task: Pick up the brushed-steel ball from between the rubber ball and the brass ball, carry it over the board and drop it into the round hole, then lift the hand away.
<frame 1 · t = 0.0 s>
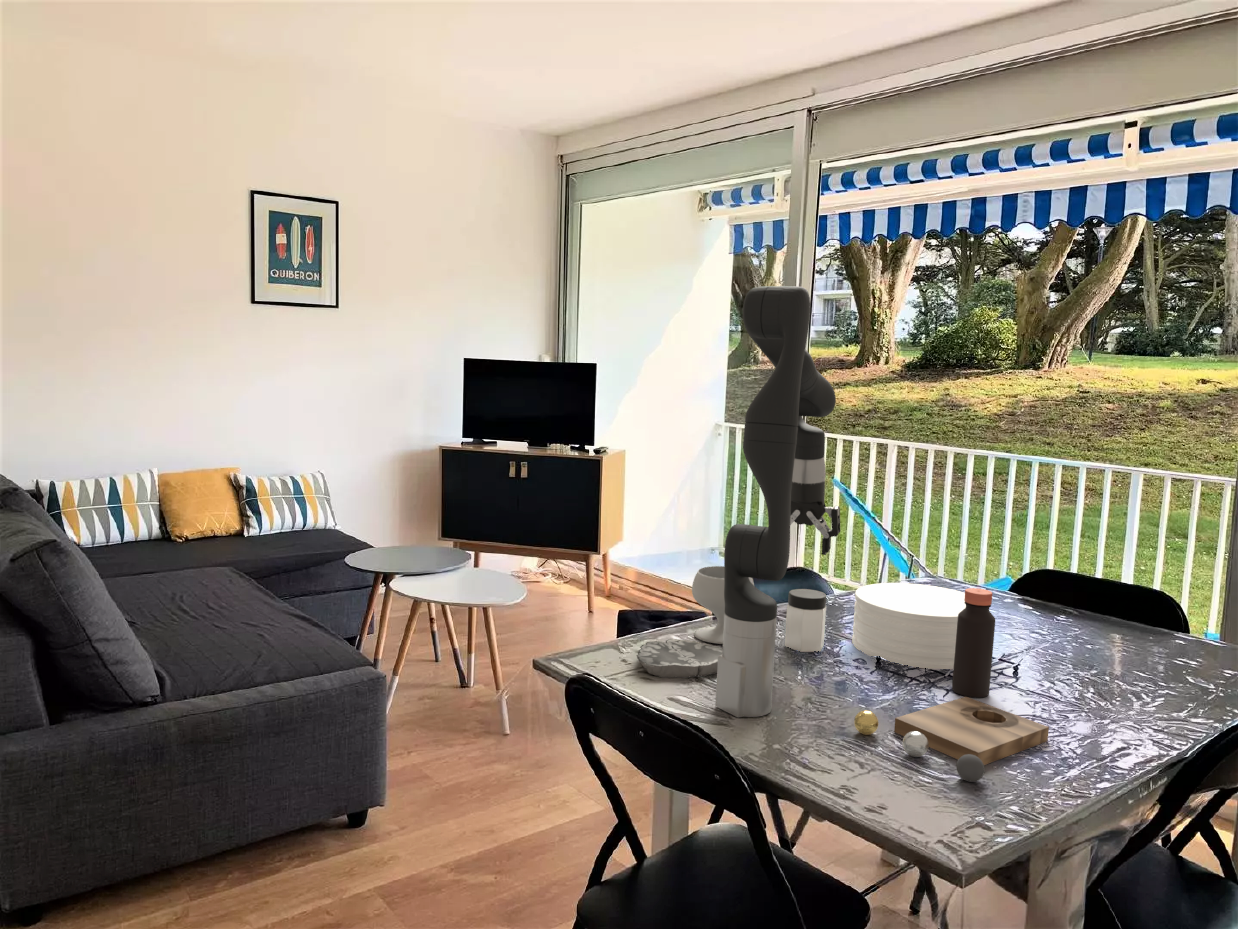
hand: (804, 551, 196), 22 cm above the table, tool pointing down, fingers open, 8 cm apart
chalice: (720, 638, 208), on the table
steel ball: (915, 744, 148), point 2 cm above the table
rubber ball: (970, 768, 140), point 2 cm above the table
brass ball: (866, 722, 157), point 2 cm above the table
bottle: (970, 693, 179), on the table
board: (970, 736, 157), on the table
brain slice: (679, 667, 188), on the table
jar: (804, 647, 203), on the table
plate stack: (916, 649, 205), on the table
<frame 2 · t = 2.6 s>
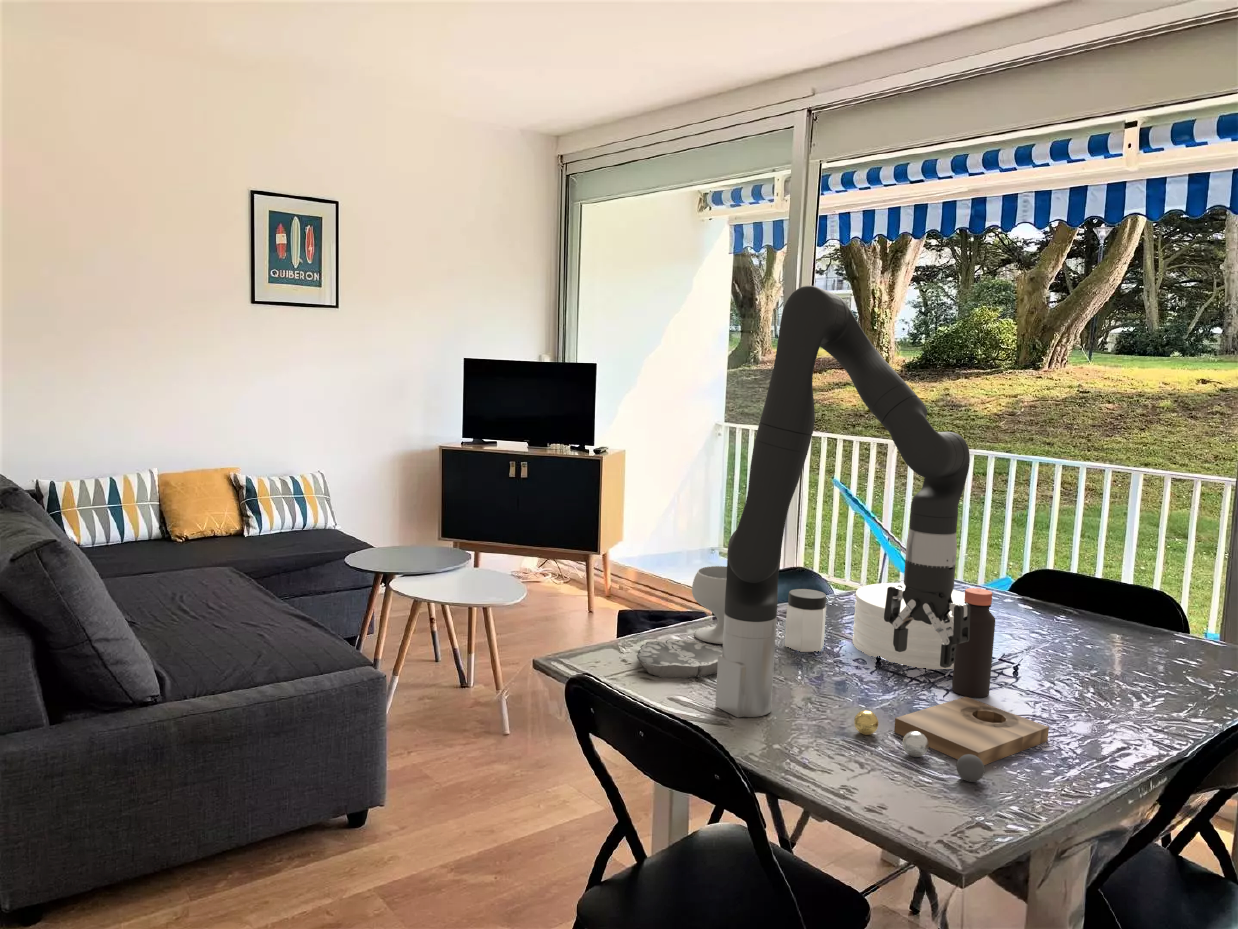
hand: (922, 658, 147), 16 cm above the table, tool pointing down, fingers open, 8 cm apart
nothing on the table moved.
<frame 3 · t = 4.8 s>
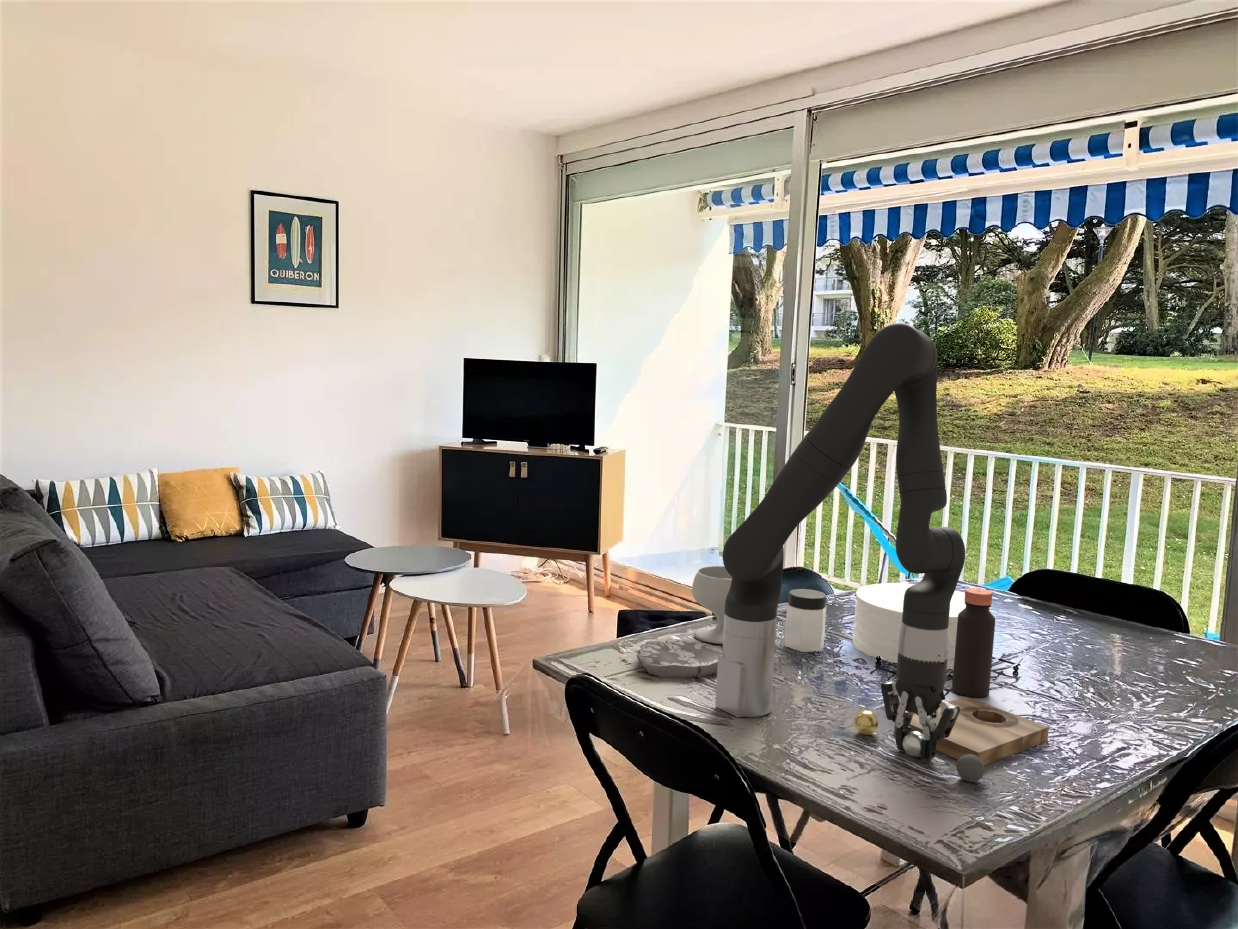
hand: (914, 754, 149), 0 cm above the table, tool pointing down, fingers closed on steel ball, 4 cm apart
steel ball: (915, 744, 148), point 2 cm above the table, touching gripper
everything else where it was.
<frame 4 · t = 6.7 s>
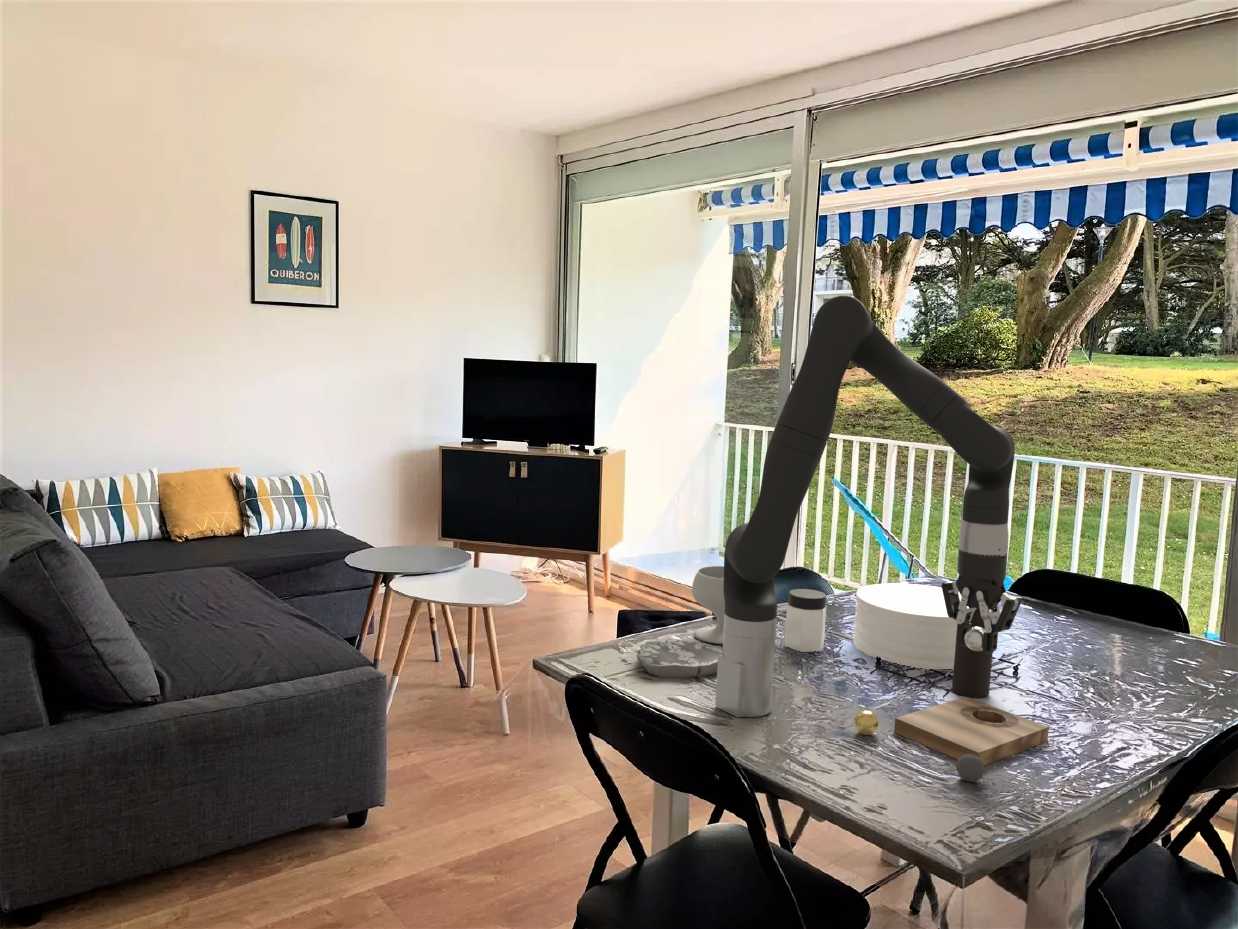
hand: (976, 649, 154), 16 cm above the table, tool pointing down, fingers closed on steel ball, 4 cm apart
steel ball: (976, 638, 154), point 18 cm above the table, touching gripper
everything else where it was.
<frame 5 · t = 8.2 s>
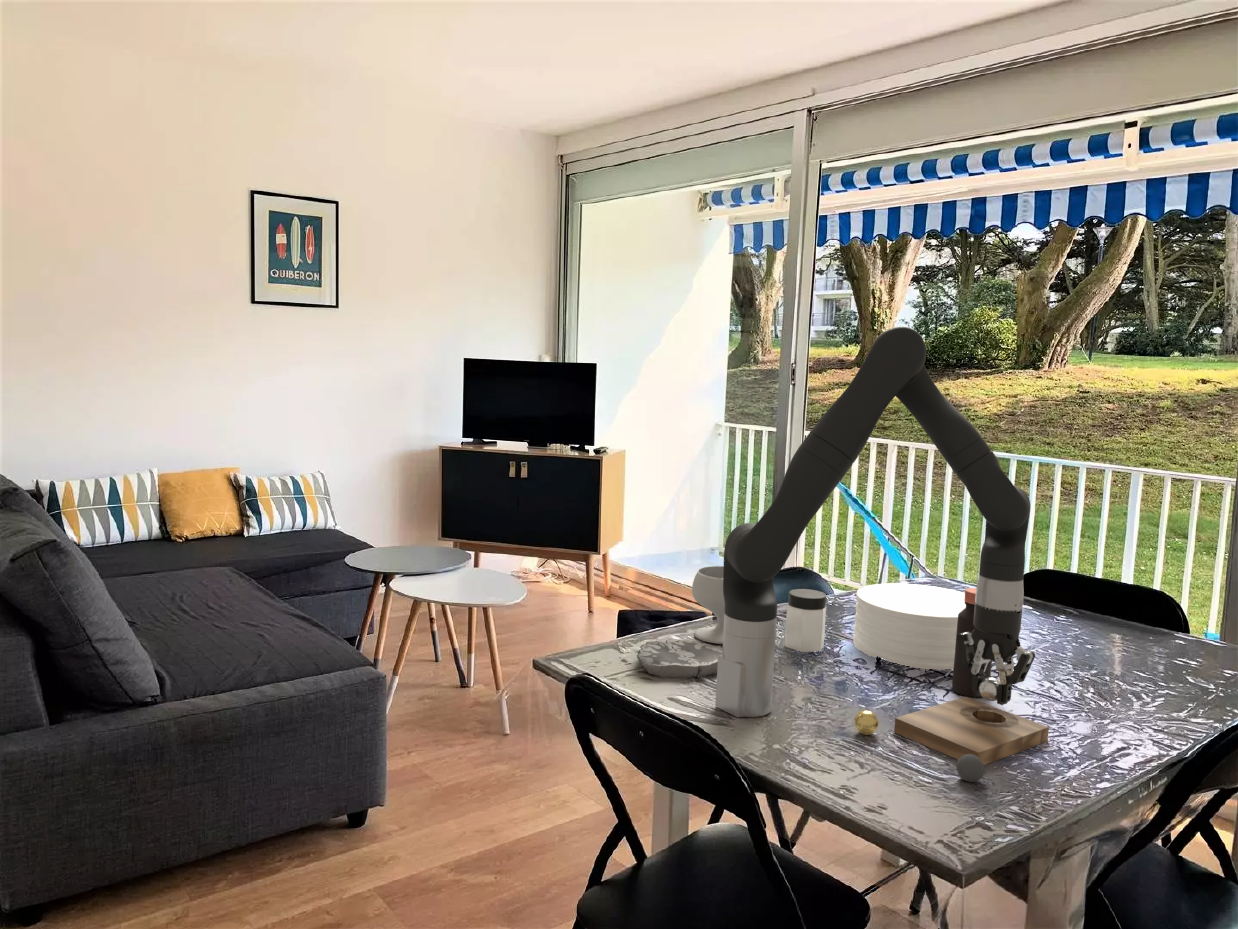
hand: (990, 699, 160), 6 cm above the table, tool pointing down, fingers closed on steel ball, 4 cm apart
steel ball: (991, 689, 159), point 7 cm above the table, touching gripper
everything else where it was.
when the fingers open (3 cm above the table, at t = 9.0 s): steel ball drops 3 cm, point 2 cm above the table.
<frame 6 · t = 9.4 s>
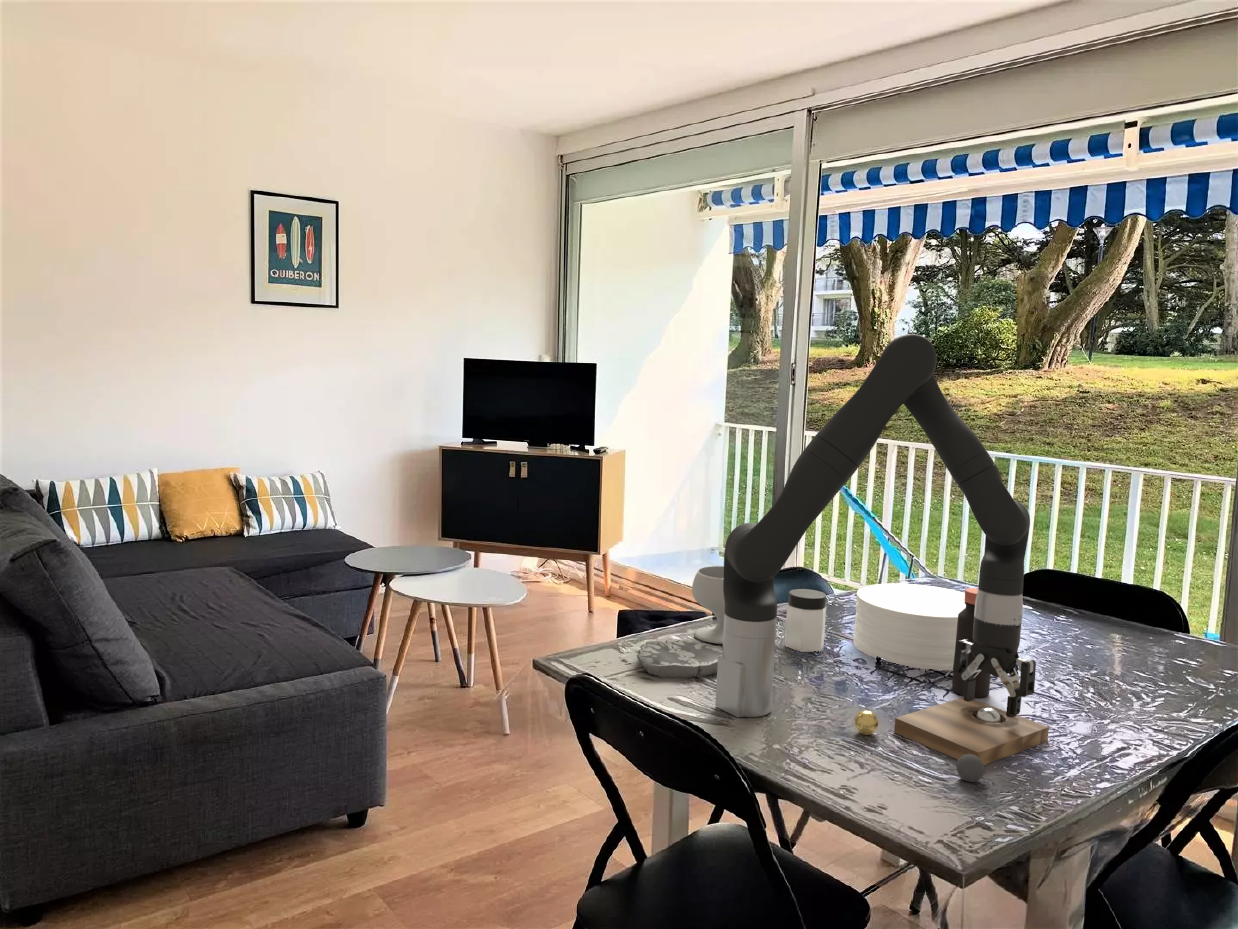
hand: (989, 708, 160), 4 cm above the table, tool pointing down, fingers open, 8 cm apart
steel ball: (988, 719, 160), point 2 cm above the table
everything else where it was.
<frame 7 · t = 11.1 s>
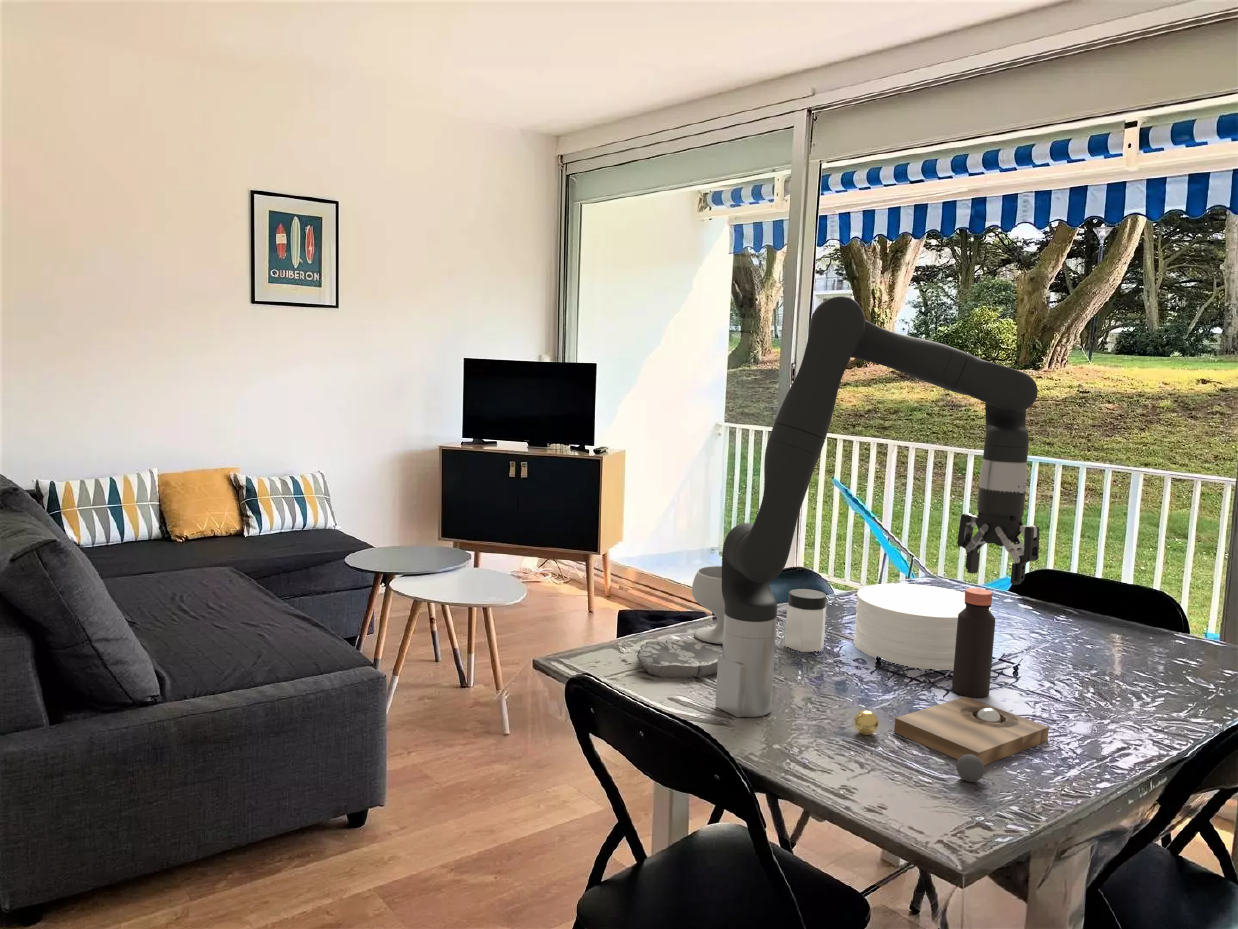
hand: (993, 578, 162), 26 cm above the table, tool pointing down, fingers open, 8 cm apart
nothing on the table moved.
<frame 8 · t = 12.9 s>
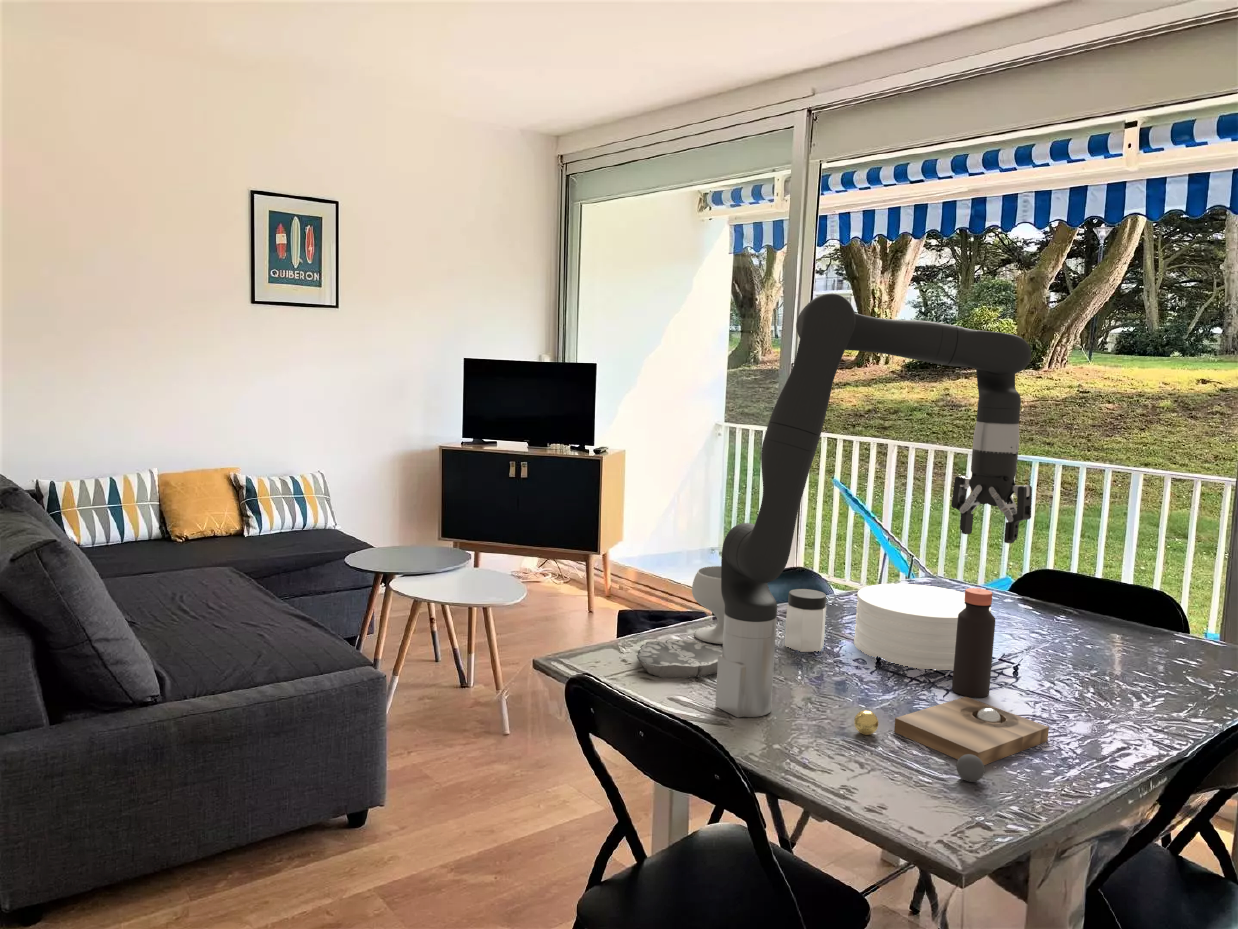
hand: (987, 538, 165), 32 cm above the table, tool pointing down, fingers open, 8 cm apart
nothing on the table moved.
at the end: steel ball 0.1 cm from the target spot in the board, point 2.0 cm above the board's base; brass ball moved 0.0 cm from its start; rubber ball moved 0.0 cm from its start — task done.
